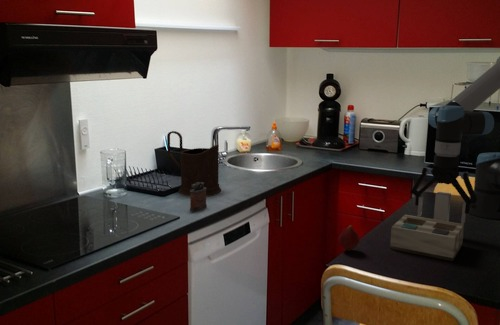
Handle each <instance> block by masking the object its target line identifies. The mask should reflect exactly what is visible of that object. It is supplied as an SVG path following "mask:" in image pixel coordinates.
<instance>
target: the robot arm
mask: <svg viewBox="0 0 500 325" xmlns="http://www.w3.org/2000/svg"><path fill="white" fill-rule="evenodd" d="M498 90H500V56H498V58H497V59H496V61H495V64H494V65H492V66H491V67H490V68H488V69H487V70H486V71H485V72H484V73H483V74H481V75H480V76H479V77H478V78H476V79H475V80H474V81H473V82H471V83H470V84H469V86H467V87H465V88H464V89H463V90H462V91H461V92H460V93H458V94H457V95H456V96H455V97H454V98H453V99H451V100H450V101H448V103H446V104H445V105H441V106H435V107H433V108H432V109H431V110H430V111H429V112H428V115H427V116H428V117H427V120H428V124H429V125H430V126H431V127H432V128H434V129H436V132H435V142H434V143H435V144H434V145H435V146H434V153H435V154H434V155H433V164H432V165H433V166H432V168H430V167H428V166H424V167H423V168H422V171H421V174H420V176H419V178H418V179H417V181H416V182H415V183H414V185H413V187H412V188H411V190H410V192H409V193H410V194H411V195H414V196H415V202H414V203H415V204H414V205H415V206H417V213H416V214H417V215H416V216H417V217H422V215H423V214H422V213H423V204H424V203H423V202H424V195H422V194H423V193H424V192H426V190H428V189H429V188H430V187H431V186H432V185H434V184H435V183H438V184H445V185H452V187H454V189H455V190H456V191H457V193H458V194H459V196H460V197H461V199H462V200H463V203H462V209H461V220H460V224H464V225H465V222H466V217H467V216H466V214H467V215H468V214H470V215H473V216H476V217H477V218H478V217H479V218H482V219H483V218H484V219H492V220H500V151H499V152H498V151H497V152H494V151H493V152H481V153H479V154H478V156H477V158H476V163H475V174H474V175H475V176H474V185H473V186H472V183H471V180H470V178H469V176H470V173H469V171H459V166H460V156H459V155H460V154H461V147H462V146H461V145H462V139H463V138H462V137H463V136H483V135H487V134H490V133H492V131H493V129H494V128H495V119H494V116H493V114H491V113H490V112H488V111H480V110H479V111H476V109H477V108H478V107H480V105H482V104H483V103H484V102H485V101H487V100H488V99H489V98H490V97H491V96H492V95H494V94H495V93H496V92H498ZM430 173H431V175H432V176H433V178H432V179H431V180H429V181H428V182H427V183H426V184H425V185H424V186H422V188H420V185H421V184H422V183H423V181H424V180H425V178H426V177H427V175H429V174H430ZM459 177H460V179H462V180H463V182H464V185H465V187H466V191H467V192H466V191H465V190H464V189H463V187H462V185H461V184H460V183H459V181H458V178H459ZM419 188H420V190H418V189H419ZM467 193H468V194H467ZM468 195H469V196H468Z"/></svg>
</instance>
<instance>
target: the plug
mask: <svg viewBox="0 0 500 325" xmlns="http://www.w3.org/2000/svg"><path fill="white" fill-rule="evenodd" d="M451 200H452V192H445V191H444V192H443V191H438V192H436V193H435V198H434V208H433V210H434V211H433V219H436V220H442V221H448V222H450V210H451Z"/></svg>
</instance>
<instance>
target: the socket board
mask: <svg viewBox="0 0 500 325" xmlns="http://www.w3.org/2000/svg"><path fill="white" fill-rule="evenodd" d="M464 230H465V223H464V224H461V222H453V221H449V222H448V221H442V220H436V219H434V218H428V217H423V216H420V217H419V216H417V215H409V214H404V215H402V217H401V218H399V219H398V220H397V221H396V222H395V223H394V224H393V225H392V226H391V230H390V245H389V246H390V247H389V249H390V250H394V251H397V252H398V251H399V252H403V253H408V254H414V255H419V256H425V257H429V258H434V259H439V260H442V261H443V260H444V261H450V262H453V261H454V260H455V258H456V256H457V255H458V253H459V252H460V250H461V248H462V246H463V240H464Z"/></svg>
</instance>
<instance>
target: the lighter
mask: <svg viewBox="0 0 500 325" xmlns="http://www.w3.org/2000/svg"><path fill="white" fill-rule="evenodd" d="M192 188H194V189H192V190H190V196H189V197H190V199H189V200H190V203H189V205H190V206H189V211H191V212H197V211H200V210H201V211H202V210H205V209H206V208H207V206H208V205H207V196H206V190H207V188H206V187H204V183H203V182H201V183H199V182H197V183H196V184H192Z"/></svg>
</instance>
